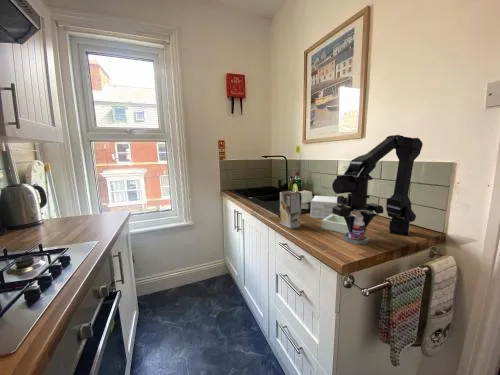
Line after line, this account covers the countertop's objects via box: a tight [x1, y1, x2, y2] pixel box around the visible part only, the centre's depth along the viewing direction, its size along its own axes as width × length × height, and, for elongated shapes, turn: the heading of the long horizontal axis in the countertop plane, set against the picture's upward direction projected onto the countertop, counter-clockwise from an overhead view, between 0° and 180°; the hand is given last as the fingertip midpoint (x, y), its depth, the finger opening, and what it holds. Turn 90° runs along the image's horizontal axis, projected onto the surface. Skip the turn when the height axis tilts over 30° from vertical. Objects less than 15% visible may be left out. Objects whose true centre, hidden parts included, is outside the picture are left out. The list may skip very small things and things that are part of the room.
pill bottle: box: [349, 213, 365, 240], centre depth 86 cm, size 5×5×10 cm
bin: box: [321, 214, 349, 235], centre depth 101 cm, size 12×12×4 cm
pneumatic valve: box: [296, 189, 315, 210], centre depth 134 cm, size 6×12×12 cm, turn 111°
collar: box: [342, 233, 370, 245], centre depth 87 cm, size 9×9×2 cm
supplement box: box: [309, 195, 339, 220], centre depth 122 cm, size 17×13×9 cm
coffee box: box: [279, 190, 302, 230], centre depth 104 cm, size 9×6×16 cm
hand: (356, 230), depth 86 cm, fingers closed on pill bottle, 5 cm apart
